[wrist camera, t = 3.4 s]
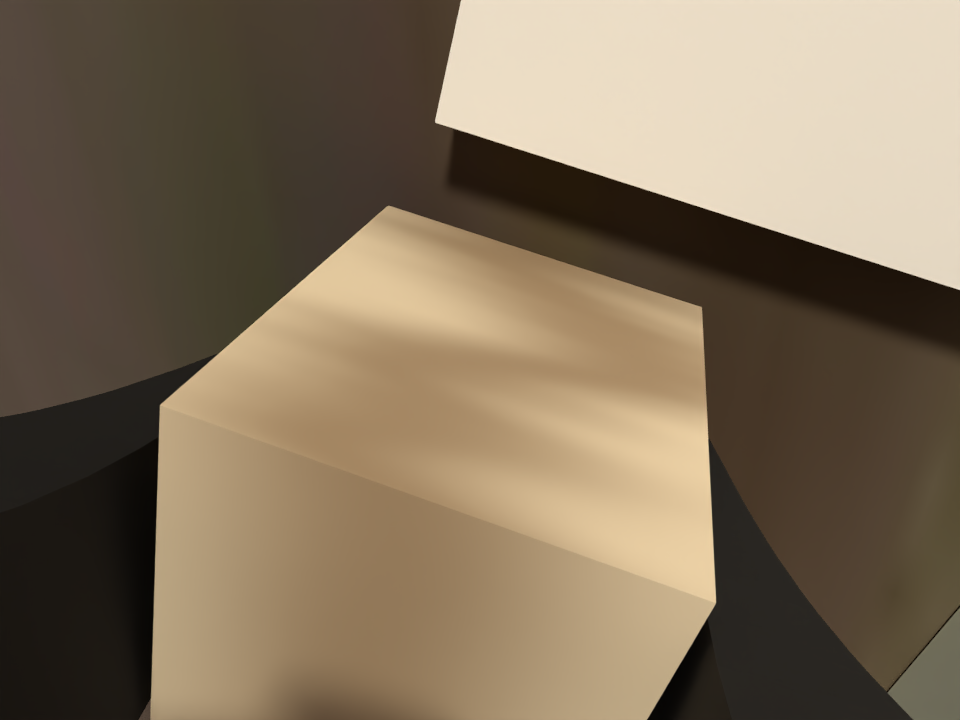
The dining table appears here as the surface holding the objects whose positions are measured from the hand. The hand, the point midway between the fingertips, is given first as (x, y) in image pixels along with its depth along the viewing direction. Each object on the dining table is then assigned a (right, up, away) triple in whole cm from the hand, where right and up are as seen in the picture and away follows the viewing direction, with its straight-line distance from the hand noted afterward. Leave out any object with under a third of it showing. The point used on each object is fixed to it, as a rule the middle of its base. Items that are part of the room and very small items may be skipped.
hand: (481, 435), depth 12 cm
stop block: (0, +1, +1) cm, 1 cm away
